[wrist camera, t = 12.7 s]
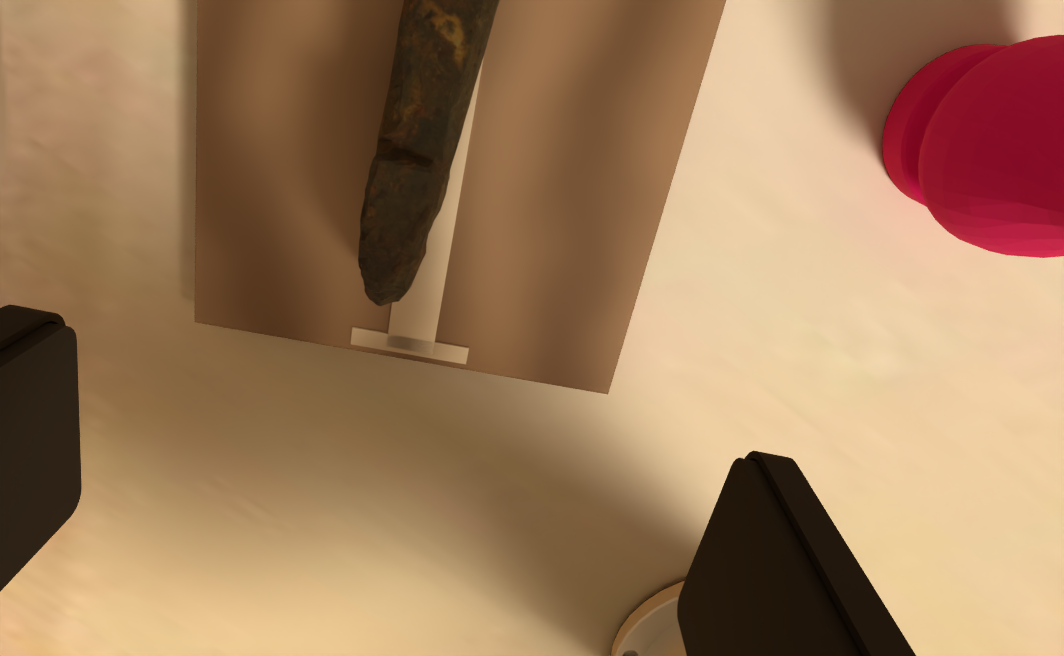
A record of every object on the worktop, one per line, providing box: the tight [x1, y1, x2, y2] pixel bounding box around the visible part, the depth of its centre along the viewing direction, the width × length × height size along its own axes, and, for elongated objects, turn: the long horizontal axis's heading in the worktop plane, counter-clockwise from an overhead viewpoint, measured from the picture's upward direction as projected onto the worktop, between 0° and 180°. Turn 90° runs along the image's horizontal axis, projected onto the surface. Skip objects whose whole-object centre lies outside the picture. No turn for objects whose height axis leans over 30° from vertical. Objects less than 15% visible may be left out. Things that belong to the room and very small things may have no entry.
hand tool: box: [358, 0, 500, 306], centre depth 23 cm, size 19×4×5 cm, turn 161°
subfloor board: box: [195, 0, 726, 394], centre depth 25 cm, size 18×26×1 cm
